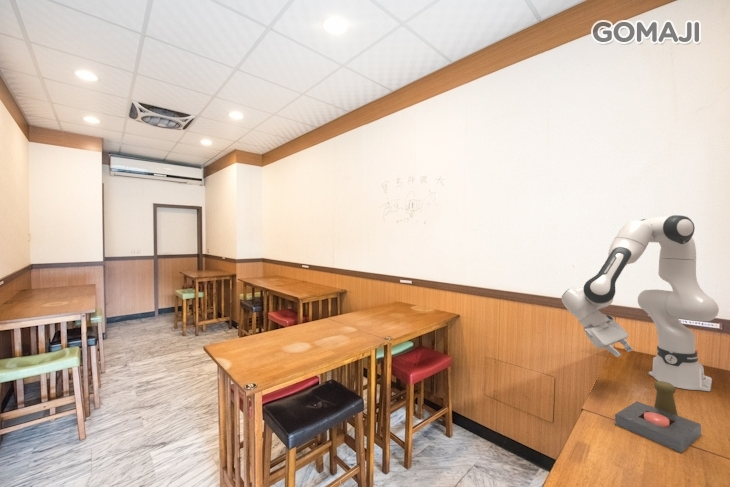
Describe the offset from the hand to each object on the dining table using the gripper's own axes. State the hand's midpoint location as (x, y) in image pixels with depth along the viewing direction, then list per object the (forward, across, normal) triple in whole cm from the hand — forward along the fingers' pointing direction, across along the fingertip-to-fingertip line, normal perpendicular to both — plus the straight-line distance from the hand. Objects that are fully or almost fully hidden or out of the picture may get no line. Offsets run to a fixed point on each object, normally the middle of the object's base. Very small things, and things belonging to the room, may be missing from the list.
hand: (625, 353), depth 116 cm
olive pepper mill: (+21, 0, +5) cm, 21 cm away
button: (+22, -14, +3) cm, 26 cm away
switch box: (+22, -14, +3) cm, 26 cm away
